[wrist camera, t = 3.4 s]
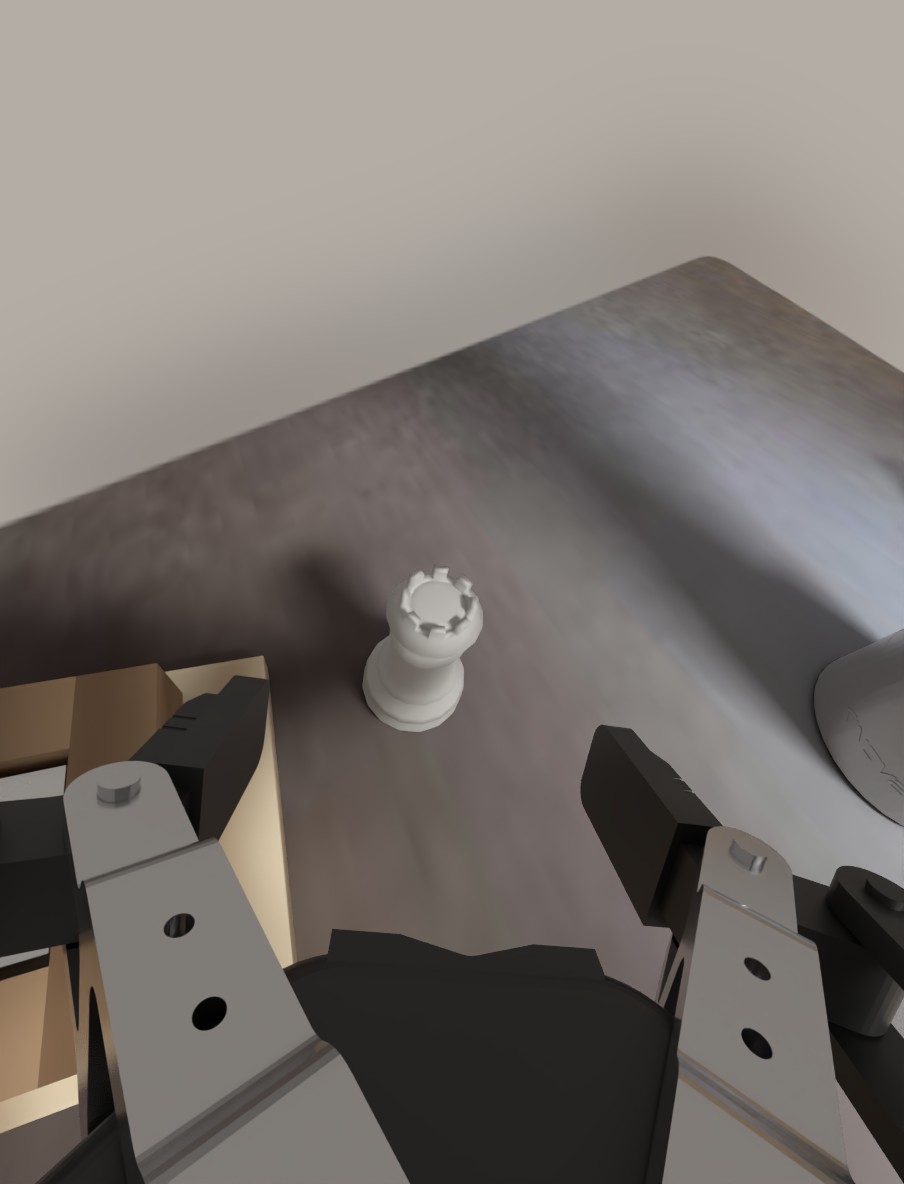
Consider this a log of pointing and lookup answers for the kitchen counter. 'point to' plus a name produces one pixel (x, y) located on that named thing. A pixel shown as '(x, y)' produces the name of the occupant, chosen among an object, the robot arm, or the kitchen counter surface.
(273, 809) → the press socket
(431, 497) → the kitchen counter surface
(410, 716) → the rook chess piece
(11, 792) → the plate
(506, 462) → the kitchen counter surface
